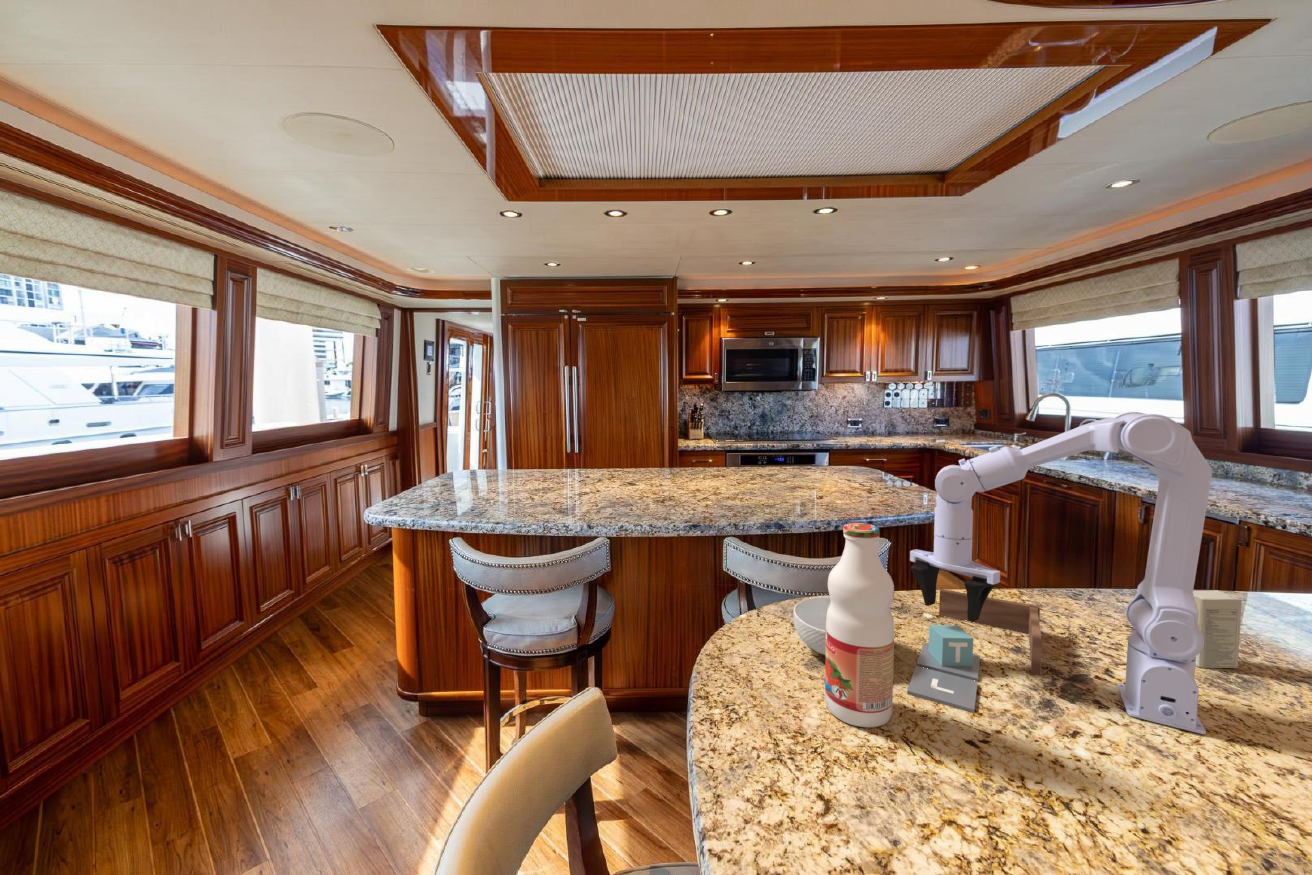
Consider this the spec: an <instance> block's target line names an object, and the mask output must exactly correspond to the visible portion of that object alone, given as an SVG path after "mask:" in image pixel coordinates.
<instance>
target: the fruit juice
mask: <svg viewBox="0 0 1312 875" xmlns="http://www.w3.org/2000/svg"><path fill="white" fill-rule="evenodd" d="M842 530H843V531H842V532H843V537H844V538H845V543H844V549H843V551H842V554H841V557H840V560H839V561H838V562H837V563H836V565H834V566H833V567H832V569H831V570H830V572H829V574H828V578H827V589H828V594H829V596H830V598H831V602H830V605H829V607H828V610H827V616H826V655H825V664H824V665H825V673H824V680H825V682H824V684H825V685H824V699H825V704H826V708H827V709H828V711H829V712H830V713H831V715H832V716H834V717H836V718H837V719H838V720H840V721H842V722H844V723H847V724H849V725H851V726H855V727H858V728H859V727H861V728H868V729H869V728H878V727H881V726H884V725H885V724H888V723H889V720H890V719H891V717H892V714H893V699H894V697H893V696H894V695H893V691H894V650H895V621H894V617H893V614H892V612H891V605H892V603H893V600H894V595H895V585H894V581H893V579H892V577H891V575H890V574H889V572H888V571H887V570H886V569H885V567H884V566H883V564H882V561H881V558H880V554H879V552H878V545H877V544H878V541H879V539H880V533H881V532H880V527H878V526H877V525H874V524H871V523H870V524H869V523H865V522H864V523H863V522H850V523H849V522H848V523H846V524H844V525H843V529H842Z"/></svg>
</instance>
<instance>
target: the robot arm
mask: <svg viewBox="0 0 1312 875" xmlns="http://www.w3.org/2000/svg"><path fill="white" fill-rule="evenodd" d="M1192 437H1193V436H1192V434H1191V431H1190V430H1189V429H1187V428H1186V427H1185V426H1182V425H1181V424H1180V423H1179V422H1176V421H1175V420H1173V419H1172V418H1170V417H1168V416H1165V415H1162V414H1157V413H1148V414H1147V413H1143V412H1137V411H1131V412H1125V413H1122V414H1119V415H1117V416H1116V417H1107V418H1103V419H1098V420H1096V421H1092V422H1089V423H1085V424H1082V425H1080V426H1078V427H1074V428H1073V429H1069V430H1067V431H1065V432H1062V433H1059V434H1056V435H1054V436H1052V437H1050V438H1046V439H1044V440H1042V441H1039V442H1037V443H1034V444H1032V445H1029V446H1026V447H1024V448H1021V449H1016V448H1013V447H1011V446H1007V445H1005V446H1003V447H1000V448H999V446H998V445H994V446H992V447H991V446H990V447H989V448H988V451H989V452H987V453H983V454H981V455H978V456H975V457H973V458H970V459H967V460H966V459H965V458H962V459H959V460H958V464H959V465H956V464H950V465H947V466H944V467H942V468H941V469H940V470H939V472H937V475H936V476H935V479H934V487H935V491H936V493H937V494H936V497H935V505H936V506H935V507H934V525H933V530H934V531H933V551H932V552H931V551H926V550H922V549H917V548H916V549H912V550H910V551H909V561H910V562H913V563H914V565H911V571H912V573H913V575H914V576H915V578H916V581H917V582H918V586H919V588H920V591H921V595H922V599H923V602H924V605H925V606H927V607H930V606H933V605H935V604H936V601H937V582H938V576H939V572H940V569H942V570H945V571H949V572H952V573H955V574H960V575H962V576H966V577H970V578H971V579H968V580H965V581H964V584H963V585H964V587H965V591H966V594H967V599H968V611H967V616H968V621H971V622H970V623H972V622H974V621H976V620H979V616H980V613H981V610H982V607H983V604H984V602H985V600H986V598H987V597H989V595H990V593H991V592H992V591H993V589H994V587H995V586H996V585H997V584H999V583H1001V571H1000V570H997V569H994V568H992V567H988V566H985V565H983V564H981V563H978V562H975V561H973V558H972V555H973V530H974V529H973V525H974V510H973V508H972V500H973V496H974V495H975V493H977V492H978V493H984V492H987V491H990V490H994V489H997V488H999V487H1002V486H1006V485H1008V484H1011V483H1015V482H1018V481H1020V480H1023V479H1025V477H1026V475H1027V472H1028V471H1029V469H1031V468H1034V467H1037V466H1040V465H1043V464H1048V463H1050V462H1054V461H1057V460H1060V459H1063V458H1066V457H1067V458H1068V457H1070V456H1074V455H1076V454H1080V453H1084V452H1086V451H1096V452H1097V451H1098V452H1106V453H1116V454H1117V453H1119V451H1120V452H1122V453H1124V454H1126V455H1128V456H1131V457H1134V458H1135V459H1137V460H1138V461H1140V462H1141V463H1142V464H1143V465H1144V466H1146V467H1147V468H1148V469H1149V470H1150V471H1151V472H1153V474H1155V475H1156V476H1157V477H1158V478H1159V481H1158V487H1157V492H1156V499H1155V505H1154V506H1155V507H1154V514H1153V520H1152V521H1153V522H1152V526H1151V533H1150V539H1149V540H1150V541H1149V547H1148V548H1149V549H1148V552H1147V561H1146V568H1145V575H1144V578H1143V580H1142V581H1141V582H1140V583H1139V584H1138V585H1137V590H1136V593H1135V596H1134V597H1133V599H1132V600H1130V601H1129V602H1128V604H1127V605H1126V609H1125V615H1126V616H1125V617H1126V619H1127V621H1128V623H1129V624H1130V625H1131V626H1132V627H1133V631H1132V632H1131V634H1130V635H1129V636H1128V638H1127V650H1126V651H1127V652H1126V669H1125V680H1124V681H1125V683H1121V682H1120V683H1117V689H1118V693H1119V694H1120V698H1121V700H1122V702H1123V705H1124V708H1125V710H1126V713H1127V715H1128V716H1130V717H1133V718H1137V719H1140V720H1145V721H1150V722H1152V723H1157V724H1161V725H1164V726H1170V727H1173V728H1177V729H1180V730H1185V731H1188V732H1192V733H1196V734H1200V735H1206V734H1207V731H1206V729H1205V727H1204V725H1203V723H1202V721H1201V720H1200V718H1199V716H1198V705H1199V695H1200V694H1199V686H1198V683H1197V682H1196V680H1195V679H1196V678H1195V677H1196V655H1198V654H1199V653H1200V652H1201V651H1202V649H1203V647H1204V637H1203V635H1202V633H1201V631H1200V629H1199V626H1198V617H1199V612H1198V609H1197V605H1196V602H1195V599H1194V596H1193V590H1194V586H1195V582H1196V575H1197V570H1198V569H1197V568H1198V563H1199V557H1200V550H1201V544H1202V540H1203V539H1202V538H1203V532H1204V527H1205V518H1206V513H1207V508H1208V507H1207V506H1208V501H1209V495H1210V488H1211V483H1212V476H1213V473H1212V472H1213V471H1212V467H1211V465H1210V464H1209V463H1208V461H1207V460H1206V458H1205V457H1204V455H1203V453H1202V452H1201V451H1200V449H1199V448H1198V446H1197V445H1196V443H1195V442H1194V440H1193V438H1192Z"/></svg>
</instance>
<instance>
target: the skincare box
mask: <svg viewBox="0 0 1312 875" xmlns="http://www.w3.org/2000/svg"><path fill="white" fill-rule="evenodd" d="M1193 596H1194V599H1195V602H1196V605H1197V609H1198V612H1199V617H1198V626H1199V629H1200V631H1201V633H1202V635H1203V637H1204V647H1203V649H1202V651H1201V652H1200V653H1199V654H1198V655H1196V665H1195V667H1197V668H1201V669H1202V668H1203V669H1205V668H1206V669H1208V668H1209V669H1210V668H1211V669H1238V668H1239V655H1240V654H1239V651H1240V637H1241V636H1240V635H1241V634H1240V633H1241V621H1242V620H1241V619H1242V618H1241V617H1242V616H1241V614H1242V599H1241V598H1239V597H1236V596H1233V595H1232V594H1228V593H1226V592H1223V591H1220V590H1217V589H1213V590H1212V589H1210V590H1209V589H1193Z"/></svg>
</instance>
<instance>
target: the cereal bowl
mask: <svg viewBox="0 0 1312 875" xmlns="http://www.w3.org/2000/svg"><path fill="white" fill-rule="evenodd" d="M830 602H831V598H830V595H829V596H815V597H810V598H805V599H803V600H800V601H799V602H798V603H797V604H796V605H795V606H794V608H793V625H794V629H795V631H796V634H797V636H798V637H799V638H800V639H801V641H802V642H803V643H804V644H806V646H807V647H809V648H811V649H812V650H813V651H815V652H817V653H819V654H821V655H824V656H826V616H827V610H828V607H829V605H830Z"/></svg>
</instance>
